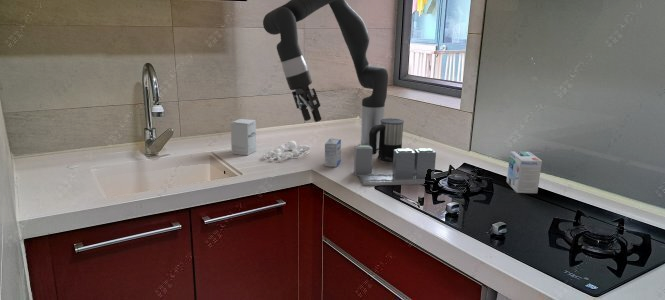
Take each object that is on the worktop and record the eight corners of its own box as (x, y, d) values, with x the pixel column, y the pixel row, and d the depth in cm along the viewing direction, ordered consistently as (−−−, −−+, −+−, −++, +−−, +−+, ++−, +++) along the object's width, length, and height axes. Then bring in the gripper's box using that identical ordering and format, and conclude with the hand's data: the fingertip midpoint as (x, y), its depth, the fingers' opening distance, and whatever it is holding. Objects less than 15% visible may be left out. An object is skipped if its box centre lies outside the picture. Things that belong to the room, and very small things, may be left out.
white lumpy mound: (281, 169, 172) (281, 158, 171) (254, 158, 180) (254, 148, 179) (316, 156, 186) (316, 146, 185) (289, 147, 195) (290, 137, 193)
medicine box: (336, 167, 171) (337, 144, 168) (324, 166, 172) (324, 143, 169) (340, 161, 178) (341, 138, 176) (329, 160, 179) (329, 138, 177)
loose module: (353, 172, 166) (354, 145, 163) (369, 171, 166) (370, 144, 164) (355, 175, 162) (356, 147, 160) (371, 175, 163) (372, 147, 160)
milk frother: (388, 153, 190) (390, 116, 186) (421, 162, 179) (423, 123, 175) (364, 160, 180) (365, 121, 176) (397, 170, 169) (399, 129, 165)
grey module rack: (358, 177, 160) (360, 147, 158) (428, 176, 163) (430, 146, 160) (363, 185, 153) (364, 153, 150) (435, 184, 156) (438, 152, 153)
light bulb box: (505, 181, 159) (509, 150, 156) (526, 182, 159) (530, 151, 156) (516, 193, 149) (520, 160, 146) (538, 193, 149) (543, 160, 146)
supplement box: (248, 155, 183) (247, 123, 179) (231, 153, 185) (229, 121, 182) (257, 151, 189) (256, 119, 186) (240, 149, 192) (239, 118, 188)
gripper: (315, 67, 145) (332, 117, 149) (298, 70, 158) (314, 115, 162) (294, 75, 142) (311, 125, 146) (278, 77, 155) (294, 123, 159)
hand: (313, 120), depth 154 cm, fingers open, 8 cm apart
